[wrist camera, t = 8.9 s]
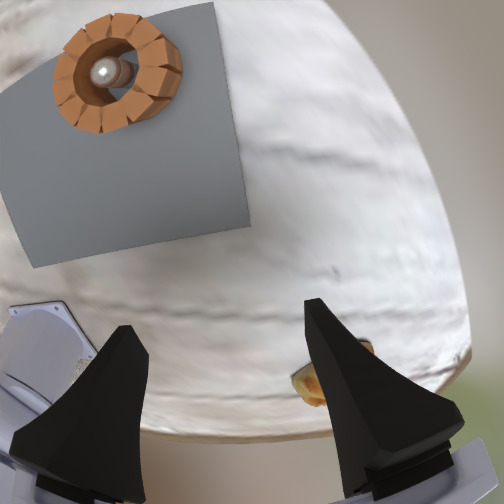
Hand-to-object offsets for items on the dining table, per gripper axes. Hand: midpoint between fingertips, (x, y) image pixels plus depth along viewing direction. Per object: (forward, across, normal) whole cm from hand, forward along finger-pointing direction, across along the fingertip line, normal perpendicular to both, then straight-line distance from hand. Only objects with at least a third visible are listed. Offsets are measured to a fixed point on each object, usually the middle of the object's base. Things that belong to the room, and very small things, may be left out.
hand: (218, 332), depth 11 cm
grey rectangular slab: (+9, +7, -8) cm, 14 cm away
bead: (+8, +3, -11) cm, 14 cm away
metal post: (+8, +3, -11) cm, 14 cm away
